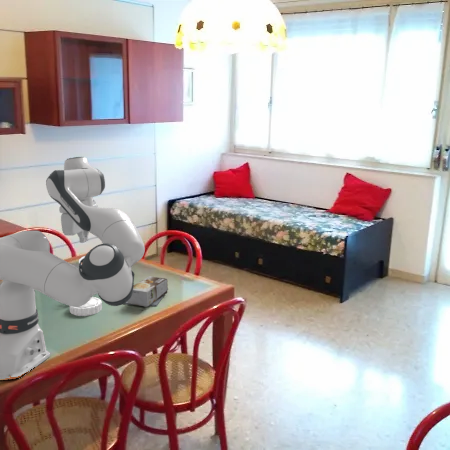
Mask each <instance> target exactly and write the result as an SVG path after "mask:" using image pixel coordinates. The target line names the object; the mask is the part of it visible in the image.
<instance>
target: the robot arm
mask: <svg viewBox="0 0 450 450" xmlns="http://www.w3.org/2000/svg"><path fill="white" fill-rule="evenodd" d="M45 183H46V184H45V185H46V190H47V193H48V195H49V196H50V198H51V199H53V201H55V202H56V203H58V204H59V205H60V206H59V213H60V214H61V216H60V223H61V225H60V226H61V230H62V234H63V235H64V236H67V237H68V236H69V237H70V236H75V235H77V237H78V239H79V243H81V244H83V243H87V242H88V241H89V234H92V235H94V236H95V237H96V238H98V239H99V241H101V243H100V244H97V245H96V246H94V247H92V248H91V249H90V250H89V251H88V252H87V253H86V254H85V255H84V256H85V258H83V259H82V260H81V261H80V264H79V263H78V266H76V265H74V264H72V263H70V262H68V261H66V260H65V259H63V258H61V257H59V256H56V255H55V254H53V253H51V252H50V248H51V247H50V246H51V245H50V241H49V239H48V237H47V236H46V234H44V233H43V232H42V231H40V230H23V231H22V230H21V231H19V232H15V233H12V234H8V235H6V236H3V237H0V281H2V282H1V283H0V379H5V378H10V377H9V376H11V377H18V376H21V375H22V374H24V373H26V372H28V371H29V372H30V370H31V369H32V370H34V369H35V368H36V367H37V366H39V365H40V364H41V363H43V362H44V361H46V360H47V359H48V358H50V357H51V353H50V351H48V350H47V346H46V342H45V336H44V331H43V330H42V329H41V327H40V325H39V320H40V319H39V317H40V316H39V312H38V309H37V307H36V291H37V292H40V293H41V294H42V295H45V296H46V297H48V298H50V299H51V300H54V301H57V302H59V303H61V304H64V305H66V306H73V307H80V306H82V305H84V304H86V303H87V302H88V301H89V300H90V299H91V297H94V295H98V297H99V299H100V300H101V302H103V303H105V304H107V305H108V306H111V307H119V306H122V305H125V304H124V303H126V302H127V301H128V300H129V299H130V298H131V296H132V293H133V287H134V285H135V282H134V281H135V272H134V271H133V270H132V269H133V266H134V265H135V264H136V263H138V262H139V261H140V260H141V259H142V258H143V257H144V254H145V244H144V241H143V238H142V236H141V234H140V232H139V229H138V228H137V226H136V225H135V223H134V222H133V220H132V218H131V217H130V216H129V215H128V214H127V213H126V212H125V211H123V210H122V209H119V208H113V207H99V206H98V205H97V202H96V201H95V200H94V198H93V197H97V196H100V195H102V193H103V192H104V191H105V188H106V179H105V175H104V173H103V172H102V171H101V170H99V169H98V168H96V167H95V168H94V167H93V166H91V164H90V163H89V160H88V158H87V157H84V156H76V157H75V156H74V157H70V158H69V157H68V158H66V159H65V160H64V164H63V169H59V170H58V169H57V170H53V171H52V172H51V173H50V174H49V175H48V176H47V178H46V181H45ZM81 263H82V265H81ZM34 367H35V368H34ZM33 368H34V369H33ZM32 370H31V371H32ZM29 372H28V373H29Z"/></svg>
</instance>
